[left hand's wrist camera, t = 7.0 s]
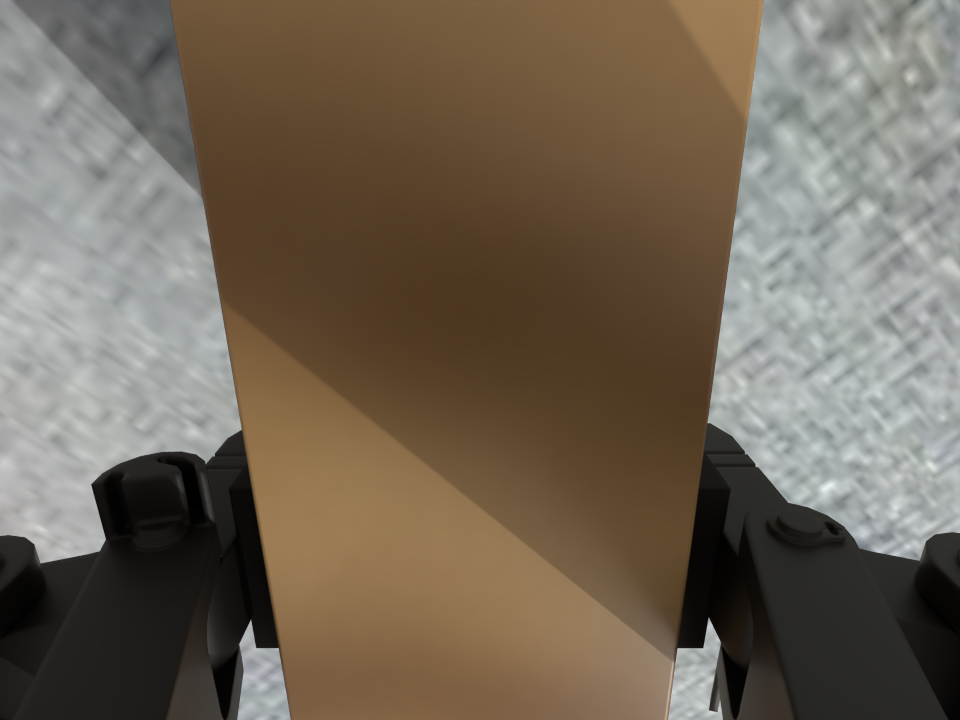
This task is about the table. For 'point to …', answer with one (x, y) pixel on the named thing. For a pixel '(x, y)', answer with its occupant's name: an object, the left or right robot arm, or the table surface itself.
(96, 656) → the left robot arm
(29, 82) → the table surface
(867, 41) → the table surface
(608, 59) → the beam
